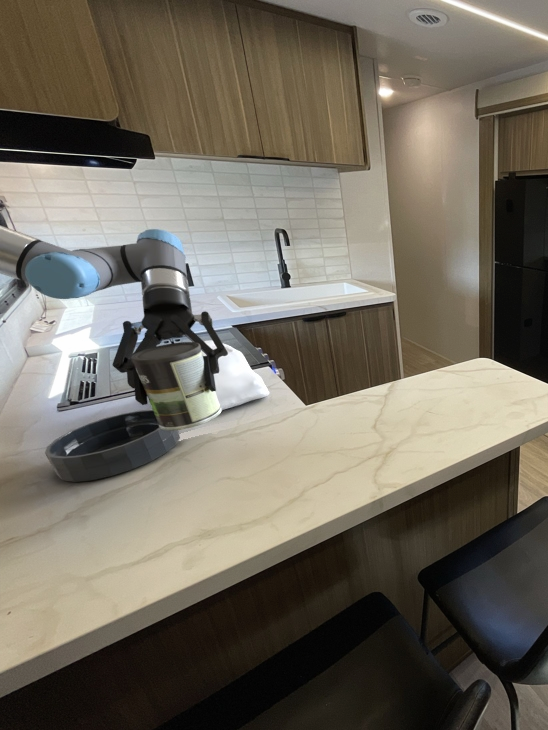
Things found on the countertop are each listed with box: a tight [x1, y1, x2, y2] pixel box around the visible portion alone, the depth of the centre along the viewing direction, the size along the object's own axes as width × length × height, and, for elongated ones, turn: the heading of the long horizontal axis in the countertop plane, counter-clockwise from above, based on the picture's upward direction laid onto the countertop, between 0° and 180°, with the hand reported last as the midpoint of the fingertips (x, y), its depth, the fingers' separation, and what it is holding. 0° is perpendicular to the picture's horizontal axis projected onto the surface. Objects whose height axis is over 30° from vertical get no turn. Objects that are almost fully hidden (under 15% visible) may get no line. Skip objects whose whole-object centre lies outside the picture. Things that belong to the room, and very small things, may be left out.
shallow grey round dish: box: [44, 409, 181, 483], centre depth 83 cm, size 19×19×6 cm
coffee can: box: [130, 341, 223, 431], centre depth 77 cm, size 10×10×14 cm
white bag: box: [201, 339, 270, 411], centre depth 107 cm, size 19×30×13 cm, turn 48°
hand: (177, 395), depth 74 cm, fingers closed on coffee can, 10 cm apart
